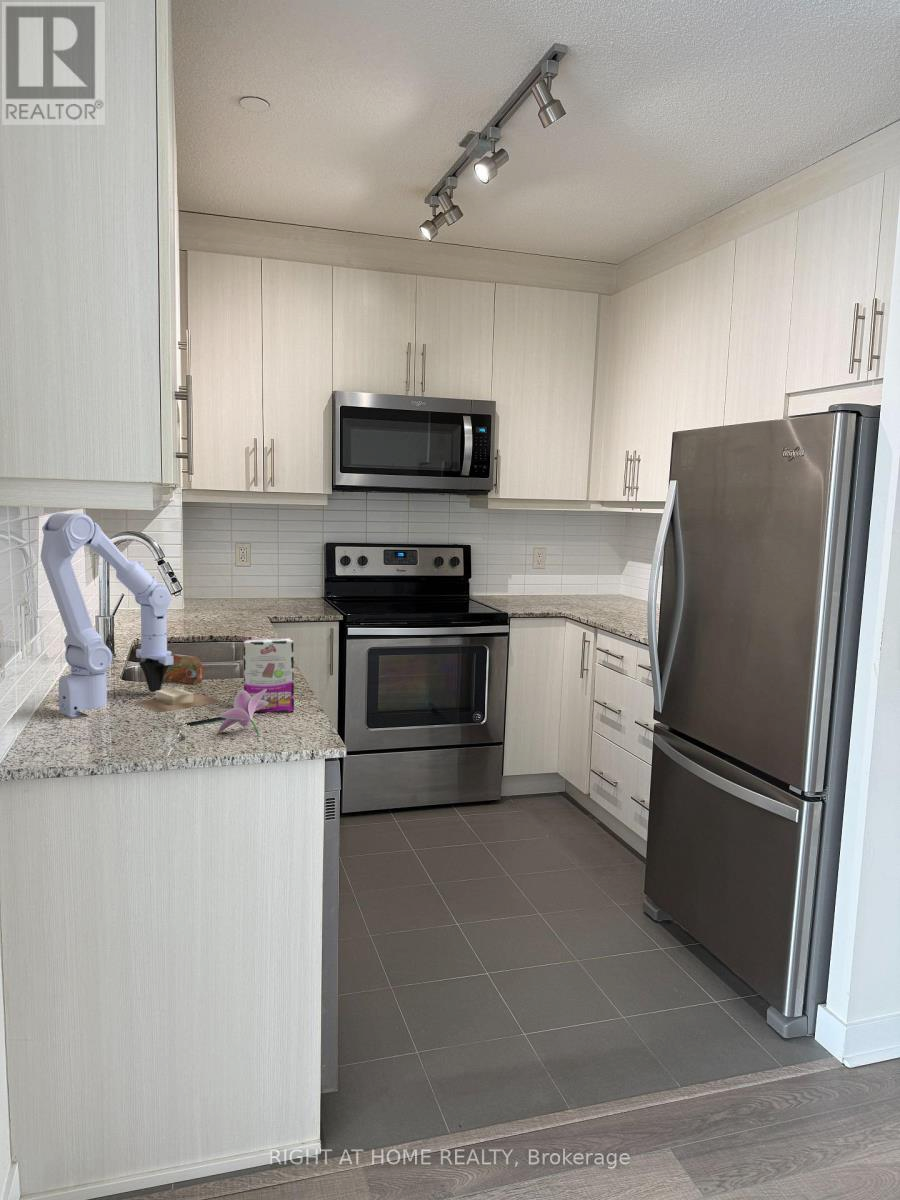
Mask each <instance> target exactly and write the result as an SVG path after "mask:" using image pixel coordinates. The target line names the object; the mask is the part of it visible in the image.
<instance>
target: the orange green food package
mask: <svg viewBox="0 0 900 1200" xmlns="http://www.w3.org/2000/svg"><path fill="white" fill-rule="evenodd" d="M170 655H171V656H173V665H169V667H168V668H167V670H166V672H165V675H164V677H163V681H162V684H166V683H167V684H168V683H173V682H174V683H175V682H176V683H183V684H189V685H193V686H194V685H199V684H201V683H202V681H203V678H204V666H203V663H202V661H201V660H200V659H199V658H198V657H197V656H194V655H183V654H175V653H172V654H170Z"/></svg>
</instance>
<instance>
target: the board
mask: <svg viewBox="0 0 900 1200" xmlns="http://www.w3.org/2000/svg"><path fill="white" fill-rule="evenodd" d="M224 702H225V701H223V700H221V699H217V698H214V697H211V696H208V695H206V694H202V693H198V692H196V693H195V692H194V693H193V702H190V703H184V704H178V705H171V704H168V703H165V702H162V701H159V700H156V698H155V699H149V700H142V701H137V702H133V704H134V705H137V706H139V707H142V708H146V709H148V710H151V711H154V712H156V713H163V712H170V711H171V712H172V711H175V710H183V709H188V708H195V707H200V706H201V707H202V706H207V705H212V704H219V703H224Z"/></svg>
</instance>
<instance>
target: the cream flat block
mask: <svg viewBox="0 0 900 1200" xmlns="http://www.w3.org/2000/svg"><path fill="white" fill-rule="evenodd" d="M193 694H194V693H193V692H190V691H187V690H184V689H180V688H177V687H171V688H166V689H160V690H158V691H156V692H155V699H156V700H159V701H162V702H165V703H168V704H171V705H178V704H184V703H190V702H193Z"/></svg>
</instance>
